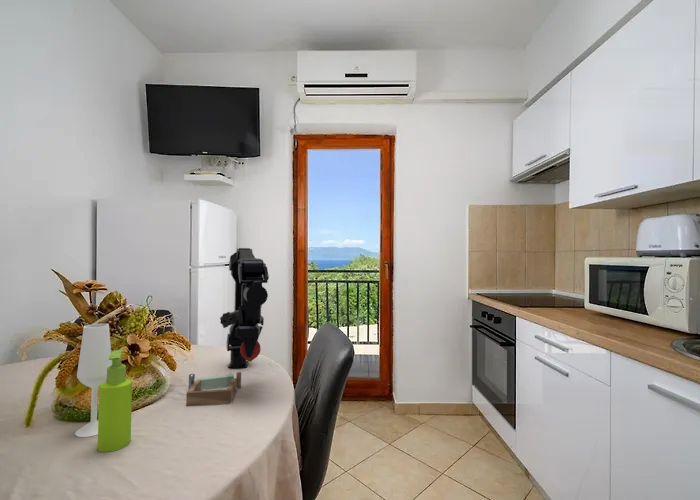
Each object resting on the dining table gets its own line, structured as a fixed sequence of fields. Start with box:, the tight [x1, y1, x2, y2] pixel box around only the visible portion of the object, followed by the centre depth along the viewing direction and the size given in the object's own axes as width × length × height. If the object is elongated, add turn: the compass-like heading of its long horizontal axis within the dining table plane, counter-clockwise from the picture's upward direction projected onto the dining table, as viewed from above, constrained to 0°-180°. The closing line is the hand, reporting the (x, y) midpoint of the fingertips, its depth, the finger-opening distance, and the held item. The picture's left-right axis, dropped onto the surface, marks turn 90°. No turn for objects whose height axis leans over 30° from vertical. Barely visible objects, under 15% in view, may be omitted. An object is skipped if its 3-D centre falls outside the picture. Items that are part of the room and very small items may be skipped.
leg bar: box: [196, 373, 235, 391], centre depth 107 cm, size 10×2×3 cm, turn 112°
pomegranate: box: [240, 340, 261, 363], centre depth 103 cm, size 6×6×8 cm
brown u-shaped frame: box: [185, 371, 242, 407], centre depth 101 cm, size 12×13×4 cm
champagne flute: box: [74, 323, 112, 438], centre depth 81 cm, size 7×7×24 cm
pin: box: [188, 373, 196, 390], centre depth 105 cm, size 2×2×4 cm
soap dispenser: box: [97, 349, 133, 453], centre depth 74 cm, size 6×7×20 cm
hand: (250, 354), depth 103 cm, fingers closed on pomegranate, 6 cm apart
